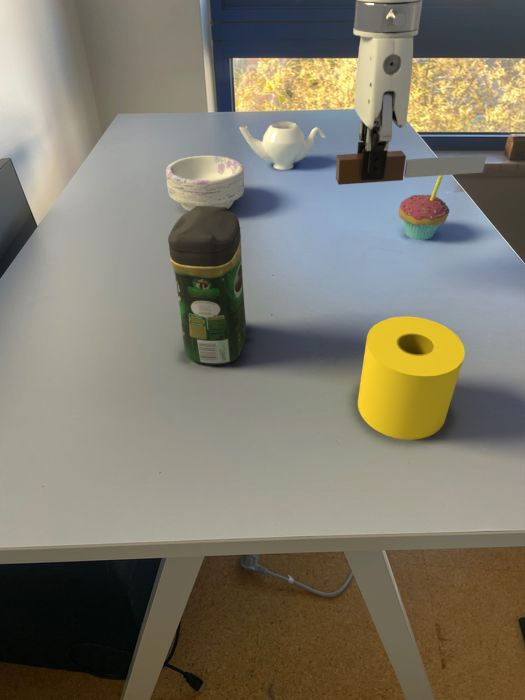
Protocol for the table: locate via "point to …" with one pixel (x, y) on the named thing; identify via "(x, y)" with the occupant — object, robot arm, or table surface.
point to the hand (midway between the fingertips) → (369, 174)
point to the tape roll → (409, 376)
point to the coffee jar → (209, 283)
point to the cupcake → (423, 214)
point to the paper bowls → (205, 181)
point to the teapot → (282, 143)
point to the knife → (407, 167)
